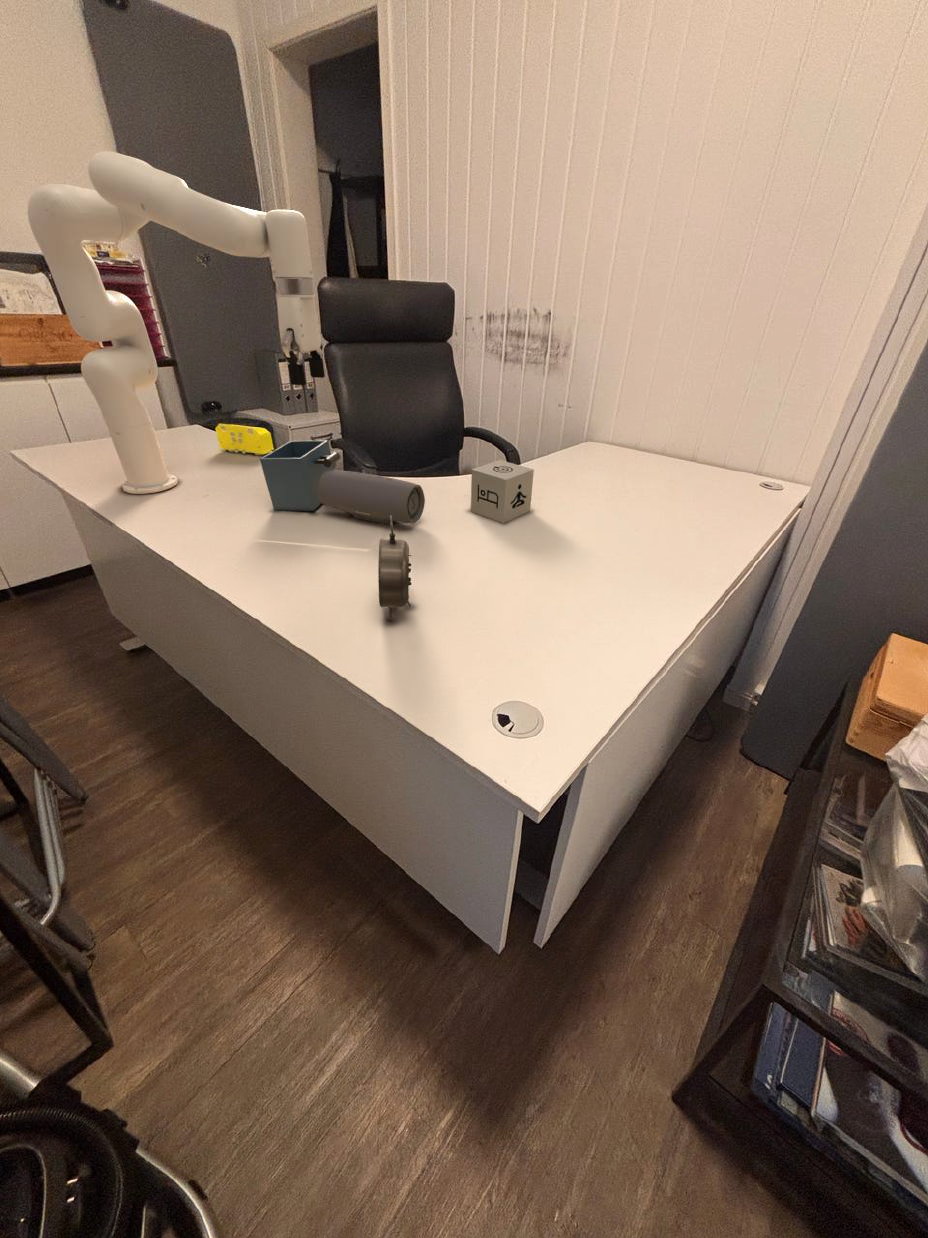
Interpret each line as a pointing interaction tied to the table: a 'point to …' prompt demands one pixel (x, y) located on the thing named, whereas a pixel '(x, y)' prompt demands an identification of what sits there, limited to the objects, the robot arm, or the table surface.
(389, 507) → the bluetooth speaker
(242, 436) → the yellow toy chassis
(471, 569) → the table surface
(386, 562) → the alarm clock
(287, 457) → the blue-grey square box
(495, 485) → the icon cube
